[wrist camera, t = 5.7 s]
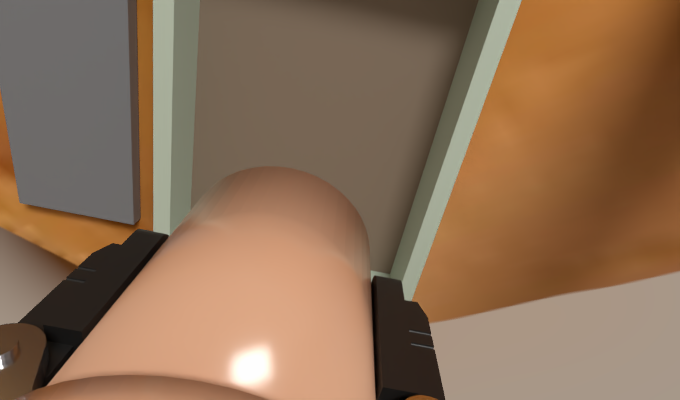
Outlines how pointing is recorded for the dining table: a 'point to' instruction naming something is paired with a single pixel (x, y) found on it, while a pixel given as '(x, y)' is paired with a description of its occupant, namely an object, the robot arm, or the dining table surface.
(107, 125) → the slate tile
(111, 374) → the clay pot
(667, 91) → the dining table surface
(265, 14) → the pale green tray
